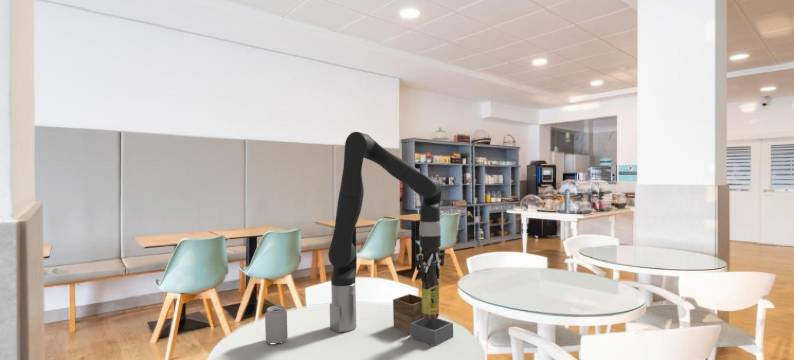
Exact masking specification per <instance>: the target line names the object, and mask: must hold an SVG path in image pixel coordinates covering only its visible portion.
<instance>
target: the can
mask: <svg viewBox="0 0 794 360" xmlns="http://www.w3.org/2000/svg"><path fill="white" fill-rule="evenodd" d="M264 318H265V319H264V320H265V321H264V322H265V323H264V327H265V342H266V343H267V342H268V344H269V343H281V342H283V343H285V342H286V340H287V339H288V310H287V309H286V307H285V306H284V305H272V306H269V307H268V308H267V309H266V312H265V313H264ZM284 341H285V342H284ZM281 344H282V343H281Z"/></svg>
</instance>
